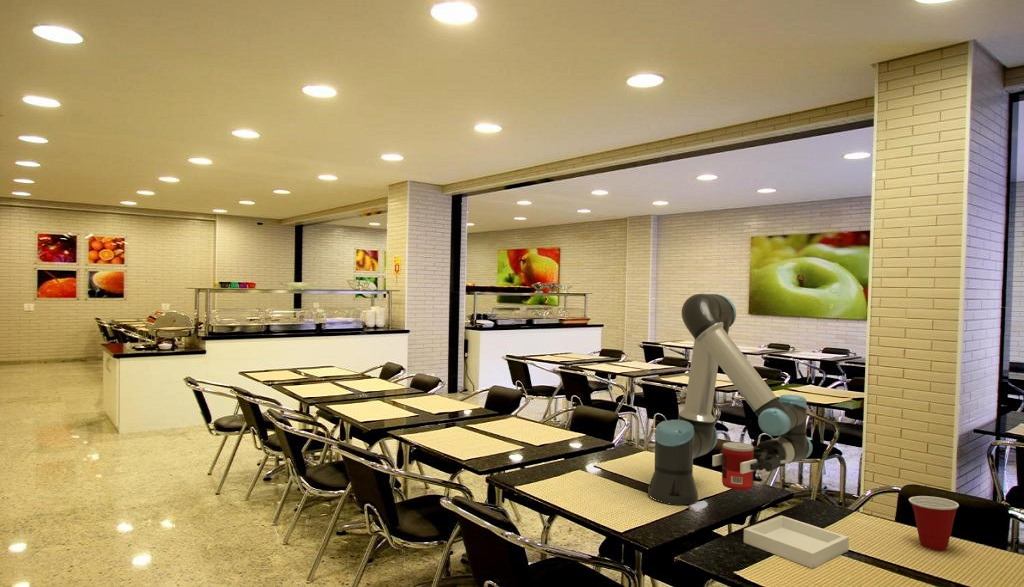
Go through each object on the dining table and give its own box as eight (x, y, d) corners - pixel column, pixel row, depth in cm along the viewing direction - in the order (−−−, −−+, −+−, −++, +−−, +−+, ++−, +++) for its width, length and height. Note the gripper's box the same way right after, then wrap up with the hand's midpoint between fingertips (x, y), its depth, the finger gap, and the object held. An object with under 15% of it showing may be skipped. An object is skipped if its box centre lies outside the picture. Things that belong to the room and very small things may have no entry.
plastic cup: (910, 534, 166) (911, 490, 167) (959, 545, 160) (960, 500, 160) (904, 546, 158) (905, 500, 158) (956, 559, 151) (957, 510, 151)
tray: (743, 542, 158) (743, 528, 158) (780, 527, 169) (781, 515, 169) (812, 568, 144) (812, 553, 144) (848, 550, 155) (848, 537, 155)
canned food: (759, 489, 163) (760, 447, 163) (734, 491, 160) (735, 449, 160) (739, 480, 170) (740, 441, 170) (715, 483, 167) (716, 443, 167)
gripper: (809, 474, 167) (763, 488, 154) (741, 457, 184) (694, 469, 170) (809, 447, 167) (763, 459, 154) (742, 433, 184) (695, 442, 170)
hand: (727, 464), depth 162 cm, fingers closed on canned food, 8 cm apart
